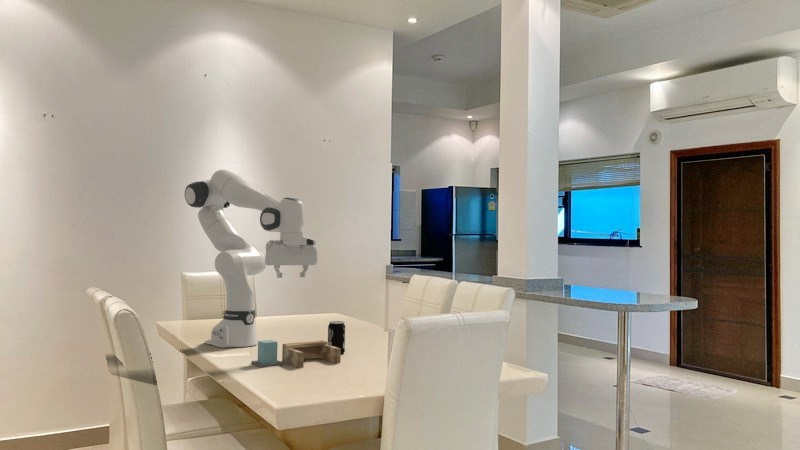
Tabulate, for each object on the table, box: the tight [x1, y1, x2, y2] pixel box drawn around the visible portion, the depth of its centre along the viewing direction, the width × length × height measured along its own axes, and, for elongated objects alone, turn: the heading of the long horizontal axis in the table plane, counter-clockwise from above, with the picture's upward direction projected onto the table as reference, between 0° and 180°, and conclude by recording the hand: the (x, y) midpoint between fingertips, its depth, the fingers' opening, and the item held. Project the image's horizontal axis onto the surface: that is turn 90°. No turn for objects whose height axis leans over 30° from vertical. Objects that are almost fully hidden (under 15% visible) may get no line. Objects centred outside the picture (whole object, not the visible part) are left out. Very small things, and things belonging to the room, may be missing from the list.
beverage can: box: [327, 320, 346, 355], centre depth 225 cm, size 7×7×12 cm
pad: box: [251, 359, 284, 368], centre depth 203 cm, size 8×8×1 cm
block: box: [257, 339, 278, 364], centre depth 203 cm, size 5×5×7 cm
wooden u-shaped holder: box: [281, 339, 342, 369], centre depth 208 cm, size 14×16×6 cm
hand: (291, 277), depth 220 cm, fingers open, 8 cm apart
